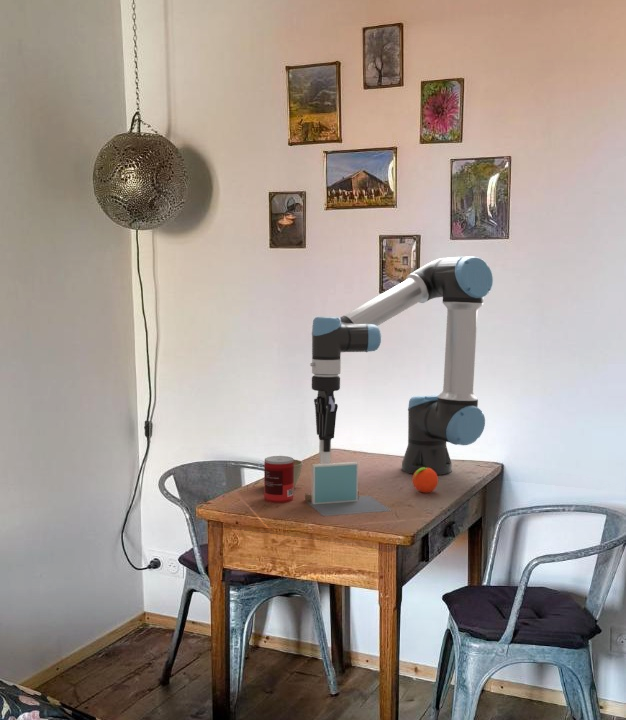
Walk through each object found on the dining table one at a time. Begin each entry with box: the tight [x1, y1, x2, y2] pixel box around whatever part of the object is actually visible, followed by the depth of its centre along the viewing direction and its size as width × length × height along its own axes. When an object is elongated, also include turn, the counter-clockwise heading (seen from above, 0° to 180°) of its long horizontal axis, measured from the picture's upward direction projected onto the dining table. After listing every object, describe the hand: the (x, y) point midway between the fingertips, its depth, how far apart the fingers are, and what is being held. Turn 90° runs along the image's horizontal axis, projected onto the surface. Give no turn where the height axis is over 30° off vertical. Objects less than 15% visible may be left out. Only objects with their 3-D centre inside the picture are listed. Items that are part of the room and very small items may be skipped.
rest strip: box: [304, 491, 360, 504], centre depth 216 cm, size 14×2×2 cm, turn 107°
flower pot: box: [293, 458, 303, 487], centre depth 231 cm, size 10×10×7 cm
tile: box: [311, 461, 359, 504], centre depth 214 cm, size 12×2×10 cm, turn 107°
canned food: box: [263, 455, 295, 504], centre depth 217 cm, size 8×8×11 cm
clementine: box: [412, 467, 439, 494], centre depth 226 cm, size 8×7×7 cm
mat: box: [307, 495, 393, 517], centre depth 211 cm, size 18×16×1 cm
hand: (324, 463), depth 221 cm, fingers closed
